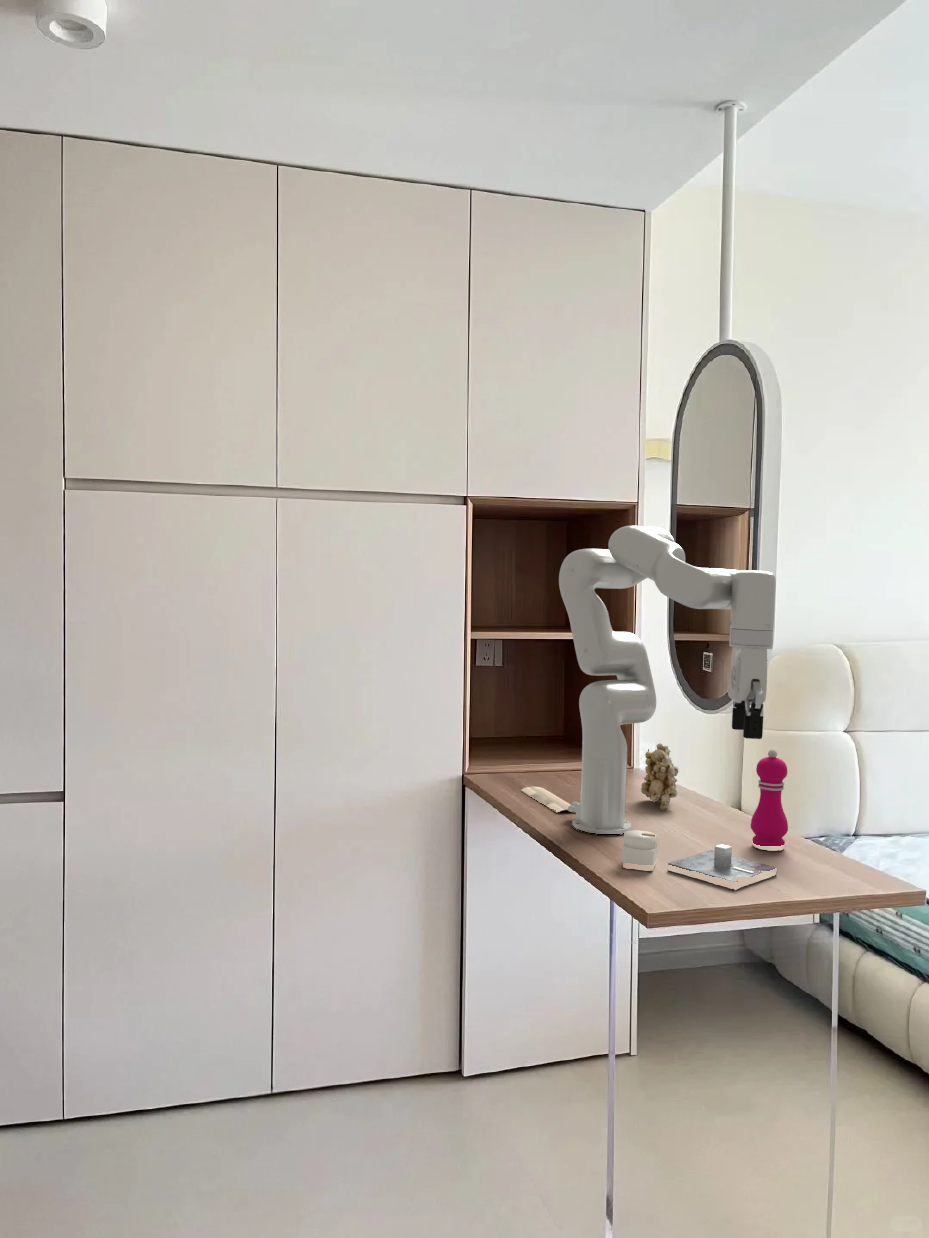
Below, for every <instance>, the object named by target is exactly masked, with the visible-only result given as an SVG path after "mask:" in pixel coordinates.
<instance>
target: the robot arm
mask: <svg viewBox="0 0 929 1238" xmlns="http://www.w3.org/2000/svg"><path fill="white" fill-rule="evenodd" d="M607 545H608V548H607V549H606V548H604V549H603V548H582V549H578V550H577V549H576V550H574V551H571V552H570V553H569V554H568V555H567V556H566V557H565V558H564V559H563V561H562V563H561V566H560V569H559V575H558V586H559V591H560V596H561V598H562V601H563V603H564V606H565V610H566V612H567V615H568V619H569V623H570V630H571V634H572V639H573V643H574V644H573V645H574V650H575V654H576V660H577V662H578V666H579V668H580V670H581V671H582V672H583V673H584V674H586V675H588V676H595V677H596V676H597V677H598V676H602V677H603V676H616V678H617V679H608V680H598V681H594V682H590V683H589V684H588V685H586V686H585V687H584V688H583V689H582V691H581V692H580V695H579V700H578V708H579V713H580V719H581V720H580V722H581V728H582V729H581V730H582V743H581V744H582V748H581V773H580V774H581V777H580V778H581V779H580V780H581V781H580V802H578V801H575V800H574V801H572V802H571V803H570V806H569V807H568V810H567V811H568V812H571V813H575V814H576V815H575V818H574V819H573V820H572V823H571V824H572V825H573V826H574V827H575V828H578V829H580V830H583V831H587V832H590V833H596V834H595V835H597V834H620V835H624V834H623V833H625V832H626V831H632V829H633V824H632V823H631V822H630V821H628V820H627V819H626V801H627V800H626V799H627V795H626V794H627V776H628V775H627V774H628V773H627V771H628V743H627V740H626V737H625V735H624V732H623V730H622V728H621V726H622V725H632V724H641V723H644V722H647V721H649V720H650V719H651V718H652V717H653V716H654V714H655V712H656V709H657V708H656V707H657V695H656V694H657V693H656V689H655V684H654V679H653V676H652V674H653V673H652V670H651V665H650V662H649V656H648V653H647V652H648V651H647V650H646V647H645V645H644V643H643V641H642V639H640V637H638V635H636V634H634V633H633V632H629V631H614V630H613V627H612V625H611V621H610V616H609V615H610V614H609V611H608V610H607V609H608V608H607V607H606V605H605V603H604V602H603V601H602V599H601V598H600V596H599V595H598V594H597V593H596V591H595V590H596V589H619V590H622V589H628V588H631V587H635V586H636V585H637V584H639V583H642V582H643V581H645V580H646V579H649V580H652V582H653V581H654V585H655V586H656V588H657V590H658V591H659V592H660V593H661V594H662V595H663V596H665V597H667V598H669V599H671V600H673V601H675V602H677V603H679V604H681V605H683V606H685V607H688V608H690V609H695V610H697V609H698V610H730V621H729V622H730V624H729V626H730V627H729V641H728V642H729V644H728V645H729V647H731V648H732V653H731V660H730V668H729V678H728V679H729V680H728V687H727V688H728V690H727V691H728V692H727V694H728V697H729V698H730V699H731V701H732V700H733V703H732V712H731V713H732V714H731V715H732V716H731V729H733V730H739V731H742V732H743V733H742V737H743V738H744V739H754V740H762V738H763V733H764V732H763V731H764V703H765V702H766V698H767V690H768V689H767V688H768V687H767V685H768V660H769V659H768V650H772V649H773V647H774V629H775V628H774V627H775V606H776V605H775V604H776V588H777V587H776V586H777V579H776V576H775V574H774V573H773V572H770V571H765V570H738V569H729V568H728V569H727V568H717V567H716V568H715V567H714V568H713V567H711V568H709V567H698V566H694V565H691V564H689V563H688V562H686V553H685V551H684V549H683V548H682V547H681V546H680V545H679V544H678V543H676V542H675V538H674V537H673V535H671V533H670V532H668V530H665V529H664V528H661V527H656V526H645V525H644V526H643V525H641V526H640V525H625V526H622V527H620V528H618V529H616V530H615V531H614V532H613V533H612V534H611V536H610V538H609V539H608V544H607ZM572 825H571V826H572ZM573 826H572V827H573ZM574 827H573V828H574ZM575 828H574V829H575ZM590 833H589V834H590Z"/></svg>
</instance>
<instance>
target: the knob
mask: <svg viewBox="0 0 929 1238" xmlns="http://www.w3.org/2000/svg"><path fill="white" fill-rule="evenodd" d="M657 837H658V835H657V834H656V833H654V832H651V831H646V830H640V829H638V830H637V829H636V830H634V829H633V830H631V831H626V832H625V833H624V834H623V846H622V856H621V857H622V858H621V860H622V861H621V862H623V863H631V864H638V865H654V862H655V860H656V861H657V855H658V853H657V852H658V851H657V850H658V849H657V847H658V841H657V840H658V838H657Z"/></svg>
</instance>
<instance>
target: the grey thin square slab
mask: <svg viewBox="0 0 929 1238" xmlns="http://www.w3.org/2000/svg"><path fill="white" fill-rule="evenodd" d="M732 854H733V846H730V845H726V844H723V843H721V844H717V845H715V846H714V850H711V849H710V850H708V851H704V852H701V853H697V854H694V855H691V856H686V857H683V858H680V859H677V860H673V861H671V862H667V866H668V865H672V866H676V867H679V868H682V869H686V870H689V871H696V872H699V873H703V874H705V875H709V876H712V877H718V878H722V877H724V878H722V879H725V880H729V881H733V882H738V878H736V880H737V881H736V880H735V879H734V878H733V877H753V876H755V875H758V874H760V873H762V872H761V871H770V870H773V869H775V868H777V869H778V867H776V866H773V865H768V864H766V863H762V862H761V863H760V862H757V861H754V860H749V859H746V858H742V857H738V856H735V855H732ZM759 871H760V872H759ZM726 878H727V879H726ZM732 879H733V880H732Z"/></svg>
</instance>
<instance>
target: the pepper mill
mask: <svg viewBox="0 0 929 1238" xmlns="http://www.w3.org/2000/svg"><path fill="white" fill-rule="evenodd" d="M777 756H778V752H777V751H776V750H775V749H769V750H768V752H767V756H765V757H763V758H761V759H760V760H759V761H758V762H757V764H756V767H755V769H756V770H755V771H756V775H757V776H758V778H759V779H758V781H757V783H758V787H757V788H759V792H760V793H759V794H760V795H759V802H758V805H757V807H756V808H755V810H754V813H753V815H752V817H751V820H750V829H751V831H752V832H753V834H754V836H753V837H752V839H751V840H752V841H753V843H754V844H756V845H760V846H781V845H784V844H785V845H786V840H785V839H784V838H783V837H785V836H786V834H787V833H788V831H789V824H788V819H787V816H786V814H785V811H784V808H783V803H782V793H783V790H785V787H784V785H785V782H784V780H785V779H786V777H787V776H788V767H787V766H788V765H787V764H786V762H785V761H784V760H783V759H782V758H779V757H777ZM752 841H751V842H752Z"/></svg>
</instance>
